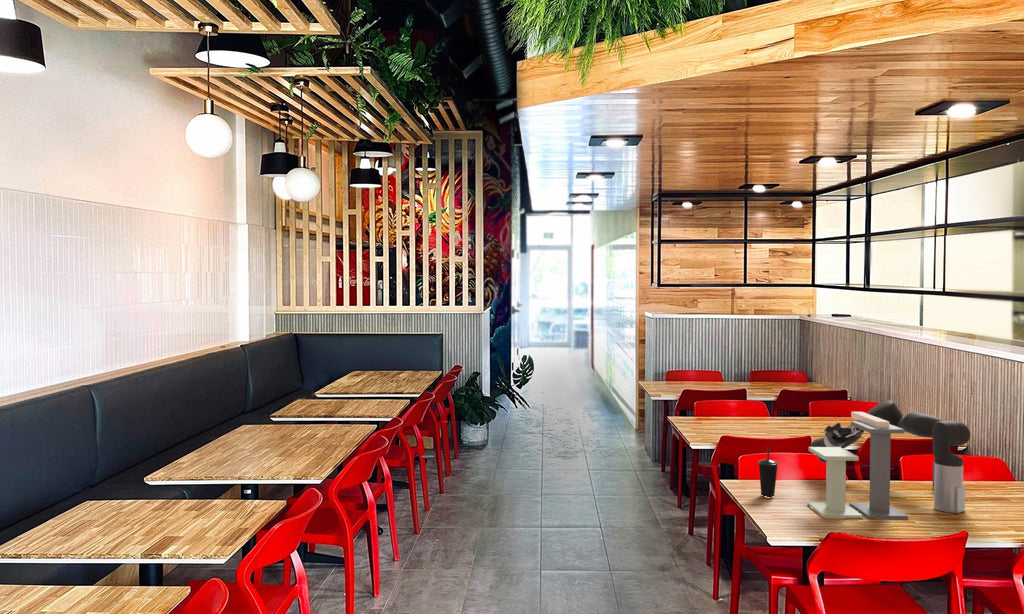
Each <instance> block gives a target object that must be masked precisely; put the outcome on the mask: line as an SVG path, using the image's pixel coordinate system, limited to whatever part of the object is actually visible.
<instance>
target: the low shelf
mask: <svg viewBox="0 0 1024 614" xmlns="http://www.w3.org/2000/svg"><path fill="white" fill-rule="evenodd" d="M808 451H809V452H810V453H811V454H814V455H815V456H816V455H817V456H818V457H820V458H822V459H824V460H827V463H826V473H825V474H826V475H825V477H826V478H825V481H826V483H825V485H826V486H825V488H826V490H825V493H826V494H825V502H821V501H820V502H819V501H815V502H814V501H807V504H808V505H809V506H810V507H812V508H813V509H814V510H815V511H816V512H818V513H819V514H820V515H821V516H820V515H819V514H818V513H817V514H818V515H819V516H820V517H822V516H823V517H827V518H826V519H845V518H861V519H862V518H863V519H864V515H862V514H861V513H859V512H858V511H857V510H855V509H854V508H852V507H851V506H850V504H847V503H846V487H847V485H846V483H847V482H846V481H847V479H846V477H847V476H846V475H847V474H846V473H847V471H846V470H847V469H846V468H847V464H846V463H847V462H846V461H848V462H850V461H851V462H853V461H854V462H857V461H858V462H859V461H860V460H859V456H858V455H857V454H854V453H853V452H851V451H848V450H847V449H845V448H844V449H843V448H841V447H811V446H808ZM817 456H816V457H817ZM818 457H817V458H818ZM808 505H807V506H808ZM809 506H808V507H809ZM810 507H809V508H810ZM813 509H812V510H813ZM814 510H813V511H814ZM815 511H814V512H815ZM816 512H815V513H816ZM823 517H822V518H823Z"/></svg>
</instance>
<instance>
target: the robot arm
mask: <svg viewBox="0 0 1024 614" xmlns="http://www.w3.org/2000/svg"><path fill="white" fill-rule="evenodd" d="M866 413H867V414H870V415H872V416H875V417H878V418H881V419H883V420H886V421H889V424H891V425H894V426H896V427H899V428H902V429H904V433H908V434H911V435H913V436H917V437H920V438H921V437H922V438H930V439H932V453H933V458H934V459H935V469H934V486H933V508H934V509H935V510H937V511H940V512H945V513H953V514H959V513H962V512H965V511H966V507H965V506H966V485H965V484H964V458H963V457H962V456H960V455H957V454H954V453H953V452H952V451H951V447H957V446H958V447H961V446H964V445H966V444H967V443H968V442H969V441H970V439H971V431H970V429H969V427H968V426H967V424H965V423H964V422H962V421H960V420H948V419H947V420H946V419H942V418H939V417H936V416H932V415H928V414H925V413H921V412H919V411H918V412H917V411H911V412H908V413H907V414H906V415H904V414H903V413H902V411H901V410H900V409H899V408H898V406H897V404H896V403H895V402H894V401H893V400H885V401H881V402H880V403H879V404H876V405H875V406H874V407H872V408H871V409H870V410H868V411H867V412H866ZM856 421H859V420H857V419H856ZM823 432H824V435H825V436H823V437H822V438H821V437H820V438H817V439H815V440H813V441H812V442H811V443H810V447H841V448H843V449H845V448H847V447H850V446H851V445H852V444H854V443H856V442H858V441H859V439H860V438H861V437H862V435H863V434H865V431H864V430H861V429H859V428H857V427H854V426H852V425H851V424H850V425H848V426H846V427H842V425H841V422H837V423H836V424H833V425H832V426H831V425H827V426H826V428H825V429H824V431H823ZM816 457H817V459H818V460H819V462H820V463H823V464H825V463H826V464H827V460H824V459H822V458H820V457H818V456H816Z"/></svg>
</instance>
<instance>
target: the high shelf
mask: <svg viewBox="0 0 1024 614" xmlns="http://www.w3.org/2000/svg"><path fill="white" fill-rule="evenodd" d="M850 423H851V424H850V425H852V426H854V427H857V428H859V429H861V430H864V432H867V433H868V434H869V436H870V437H869V439H870V440H869V445H870V448H869V450H870V451H869V502H849V506H850V507H852V508H853V509H855V510H856V511H857V512H860V514H863V517H865V516H866V517H865V518H867V519H868V518H879V519H878V520H909V515H908V514H905V513H904V512H903V511H901V510H899V509H898V508H896V507H894V506H893V505H891V504H890V503H891V502H890V501H891V499H890V498H891V440H892V439H891V435H892V434H899V435H900V434H901V435H902V434H905V432H904V429H902V428H899V427H896V426H894V425H891V424H889V428H877V427H874V426H872V425H869V424H867V423H864V422H862V421H857V420H855V421H853V420H851V421H850Z"/></svg>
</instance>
